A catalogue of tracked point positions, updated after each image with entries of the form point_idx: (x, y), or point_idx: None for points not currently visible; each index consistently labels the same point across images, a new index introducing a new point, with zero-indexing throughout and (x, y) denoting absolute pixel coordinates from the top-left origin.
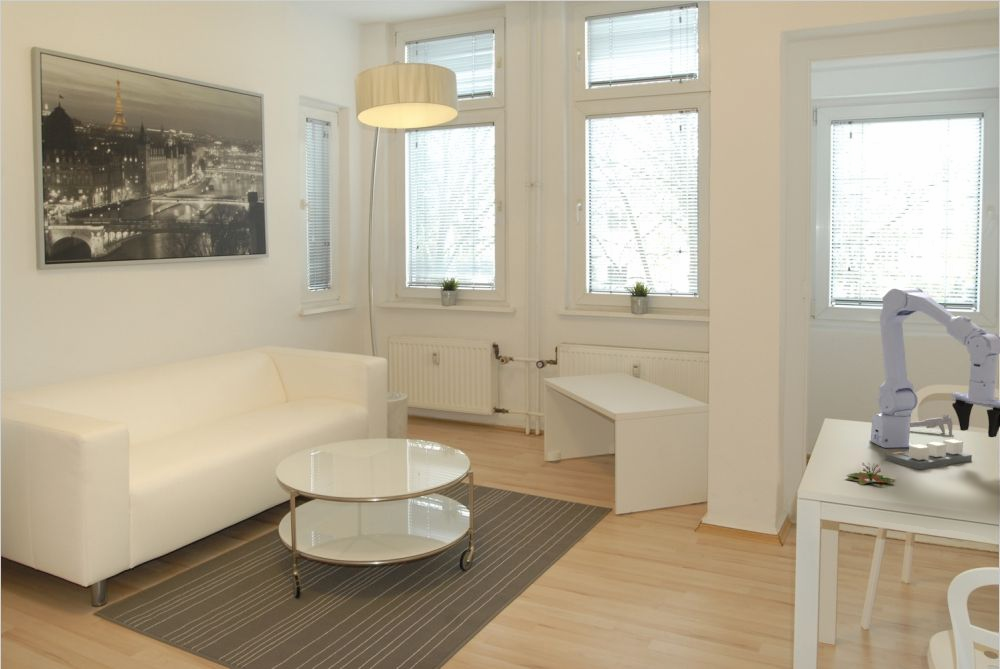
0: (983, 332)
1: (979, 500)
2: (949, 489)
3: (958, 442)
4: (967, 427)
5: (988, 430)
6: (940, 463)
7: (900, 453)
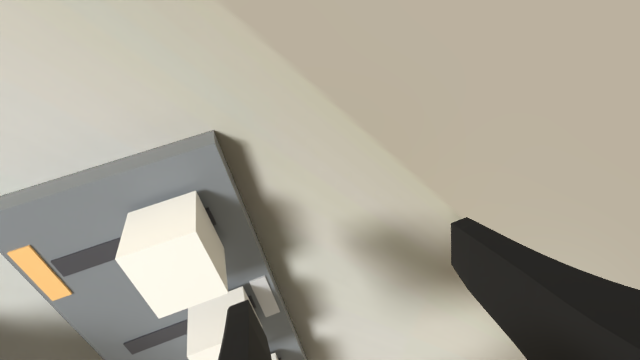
0: None
1: None
2: (469, 347)
3: (213, 265)
4: (253, 321)
5: (483, 305)
6: (282, 302)
7: None
